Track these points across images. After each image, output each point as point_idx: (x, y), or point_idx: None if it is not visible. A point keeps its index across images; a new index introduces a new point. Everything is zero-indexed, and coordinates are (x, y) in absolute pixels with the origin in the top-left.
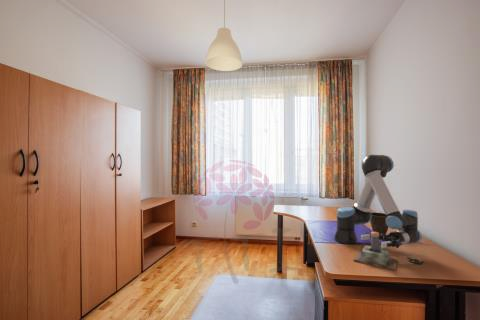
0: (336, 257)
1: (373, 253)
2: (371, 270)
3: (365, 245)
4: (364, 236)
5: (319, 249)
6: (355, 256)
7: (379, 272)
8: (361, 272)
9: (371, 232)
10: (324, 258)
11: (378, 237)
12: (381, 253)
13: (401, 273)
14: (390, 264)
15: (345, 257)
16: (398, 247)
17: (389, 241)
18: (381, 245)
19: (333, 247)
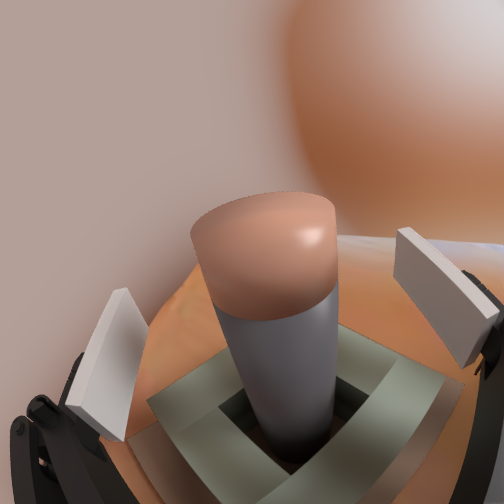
0: (359, 270)
1: (227, 347)
2: (188, 339)
3: (441, 376)
4: (416, 263)
5: (443, 241)
6: (357, 333)
7: (158, 357)
8: (191, 297)
9: (283, 193)
10: (343, 238)
11: (212, 301)
12: (203, 405)
13: (101, 442)
14: (180, 470)
15: (364, 300)
16: (50, 466)
17: (80, 390)
18: (135, 313)
19: (497, 287)
